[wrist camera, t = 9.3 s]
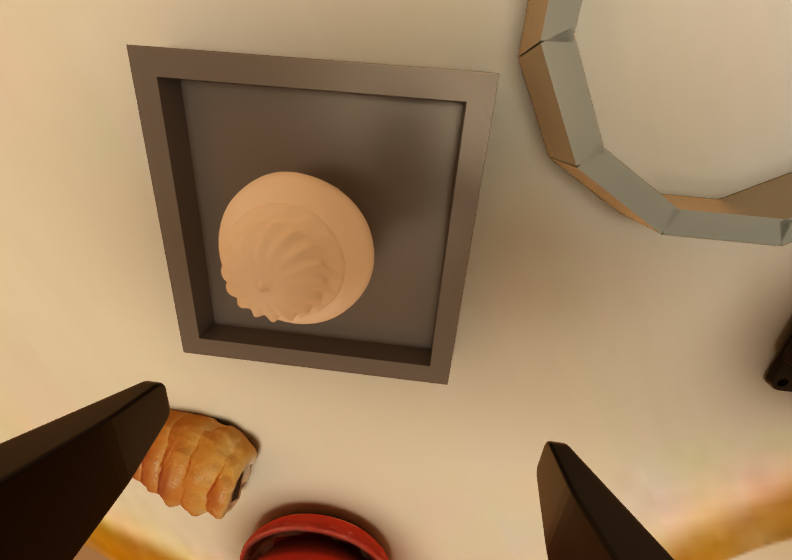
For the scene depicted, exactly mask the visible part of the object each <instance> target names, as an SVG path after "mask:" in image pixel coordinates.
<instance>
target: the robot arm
mask: <svg viewBox="0 0 792 560" xmlns="http://www.w3.org/2000/svg"><path fill="white" fill-rule="evenodd" d="M766 382H767V383H768V384H769V385H770V386H771V387H773V388H774V389H776V390H781V391H790V392H792V335H791V336H790V338H789V340H788V341H787V343H786V345H785V346H784V348H783V350H782V351H781V353H780V355H779V356H778V358H777V360H776V361H775V363H774V365H773V366H772V368H771V370H770V372H769V373H768V375H767V377H766ZM169 414H170V406H169V401H168V397H167V392H166V388H165V386H164V385H163V384H162V383H158V382H152V381H144V382H141V383H139V384H137V385H134V386H132V387H130V388H128V389H125V390H123V391H121V392H118V393H116V394H114V395H111V396H109V397H107V398H105V399H102V400H100V401H98V402H95V403H93V404H91V405H88V406H86V407H84V408H81V409H79V410H77V411H75V412H72V413H70V414H68V415H65V416H63V417H61V418H58V419H56V420H54V421H51V422H49V423H47V424H45V425H42V426H40V427H38V428H35V429H33V430H31V431H28V432H26V433H24V434H21V435H19V436H17V437H15V438H12V439H10V440H8V441H5V442H3V443H1V444H0V560H73V559H74V557H75V556H76V555H77V553H78V552H79V550H80V549H81V548H82V546H83V545H84V544H85V542H86V541H87V540H88V538H89V537H90V535H91V534H92V533H93V531H94V530H95V529H96V527H97V526H98V525H99V523H100V522H101V520H102V519H103V518H104V516H105V515H106V514H107V512H108V511H109V509H110V508H111V507H112V505H113V504H114V503H115V501H116V500H117V499H118V497H119V496H120V494H121V493H122V492H123V490H124V489H125V487H126V486H127V485H128V483H129V482H130V480H131V479H132V477H133V476H134V474H135V472H136V471H137V469H138V468H139V466H140V464H141V463H142V461H143V459H144V458H145V456H146V454H147V453H148V451H149V449H150V448H151V446H152V445H153V443H154V441H155V440H156V438H157V436H158V435H159V433H160V431H161V430H162V428H163V426H164V425H165V423H166V421H167V419H168V417H169ZM537 482H538V490H539V497H540V505H541V513H542V521H543V528H544V536H545V543H546V550H547V555H548V560H674V559H673V558H672V557H671V556H670V555H669V553H668V552H667V551H666V550H665V549H664V548H663V547H662V546H661V545H660V544H659V543H658V542H657V541H656V539H655V538H654V537H653V536H652V535H651V534H650V533H649V532H648V531H647V530H646V529H645V528H644V527H643V525H642V524H641V523H640V522H639V521H638V520H637V519H636V518H635V517H634V516H633V515H632V514H631V513H630V511H629V510H628V509H627V508H626V507H625V506H624V505H623V504H622V503H621V502H620V501H619V500H618V499H617V497H616V496H615V495H614V494H613V493H612V492H611V491H610V490H609V489H608V488H607V487H606V486H605V485H604V483H603V482H602V481H601V480H600V479H599V478H598V477H597V476H596V475H595V474H594V473H593V472H592V471H591V469H590V468H589V467H588V466H587V465H586V464H585V463H584V462H583V461H582V460H581V459H580V458H579V457H578V455H577V454H576V453H575V452H574V451H573V450H572V449H571V448H570V447H569V446H568V445H567V444H565V443H560V442H553V441H548V442H546V444H545V446H544V449H543V452H542V455H541V458H540V461H539V464H538V467H537Z"/></svg>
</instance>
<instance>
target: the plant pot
mask: <svg viewBox="0 0 792 560" xmlns="http://www.w3.org/2000/svg"><path fill="white" fill-rule="evenodd" d="M240 560H389V559H388V557H387V555H386V553H385V551H384V550H383V549H382V547H381V546H380V545H379V544H378V543H377V542H376V541H375V539H373V538H372V537H371V536H370V535H369V534H368V533H366V532H365V531H363V530H362V529H360V528H359V527H357V526H355V525H354V524H351V523H349V522H347V521H344V520H341V519H338V518H335V517H331V516H326V515H320V514H292V515H287V516H284V517H280V518H278V519H275V520H273V521H271V522H269V523H267V524H265V525H264V526H262V527H261V528H260V529H258V530H257V531H256V532H255V533H254V534H253V535H252V536H251V537H250V538H249V539H248V541H247V542H246V543H245V545H244V547H243V549H242V552H241V555H240Z"/></svg>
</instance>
